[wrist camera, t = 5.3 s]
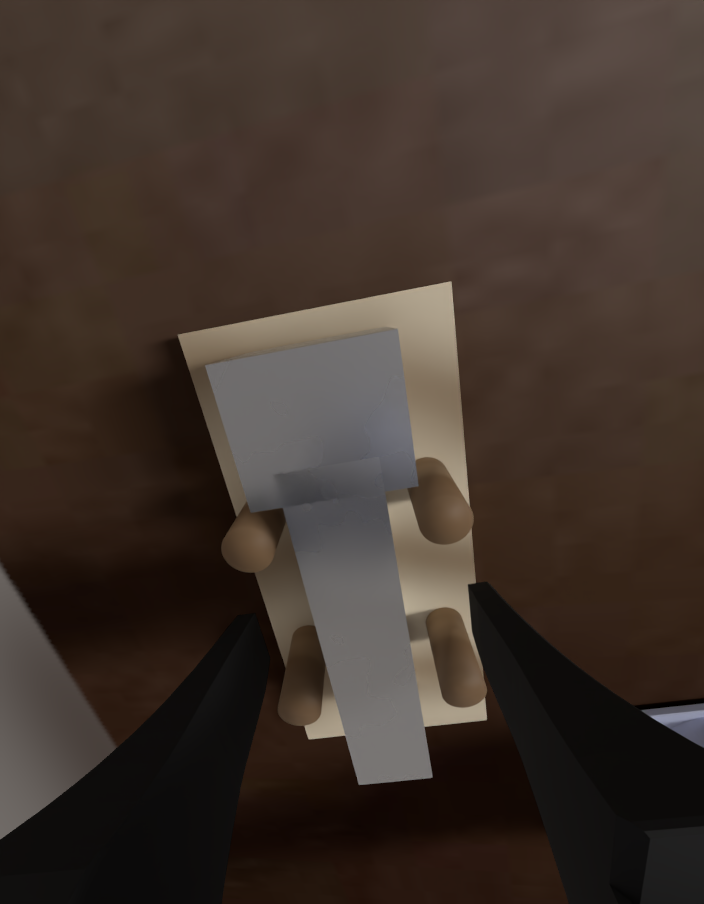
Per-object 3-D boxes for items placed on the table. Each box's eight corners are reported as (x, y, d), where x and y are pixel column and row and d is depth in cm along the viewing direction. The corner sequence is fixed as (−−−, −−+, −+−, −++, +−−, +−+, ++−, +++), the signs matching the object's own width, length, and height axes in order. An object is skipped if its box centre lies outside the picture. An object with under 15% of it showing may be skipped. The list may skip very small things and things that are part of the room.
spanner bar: (436, 680, 17) (457, 775, 14) (339, 692, 18) (335, 787, 14) (385, 326, 12) (398, 328, 8) (249, 352, 12) (204, 365, 9)
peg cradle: (479, 696, 19) (512, 799, 15) (311, 715, 20) (299, 819, 16) (442, 284, 13) (485, 267, 8) (193, 333, 13) (117, 339, 9)
